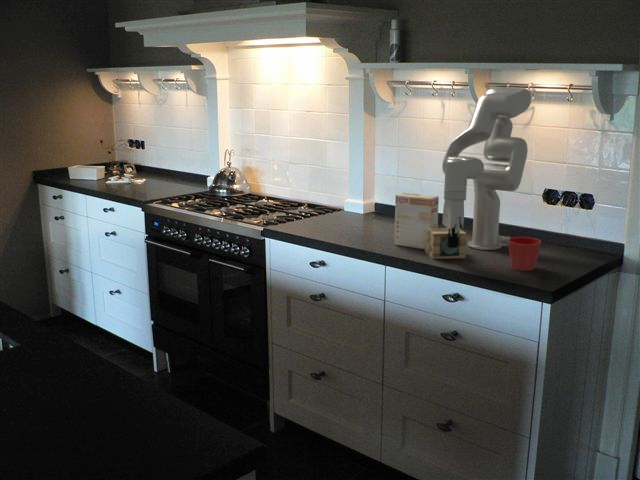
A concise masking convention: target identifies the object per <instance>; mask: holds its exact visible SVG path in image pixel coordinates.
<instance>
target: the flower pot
mask: <svg viewBox="0 0 640 480" xmlns="http://www.w3.org/2000/svg"><path fill="white" fill-rule="evenodd" d="M507 243H508V250H509V251H508V253H509V260H510V267H511V269H513V270H516V271H520V272H527V271H528V272H530V271H534V270H535V269H536V266H537V262H538V258H539V257H538V256H539V252H540V250H541V249H540V248H541V244H542V240H541V239H538V238H534V237H527V236H514V237H510V239H509V240H508V242H507Z"/></svg>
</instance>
